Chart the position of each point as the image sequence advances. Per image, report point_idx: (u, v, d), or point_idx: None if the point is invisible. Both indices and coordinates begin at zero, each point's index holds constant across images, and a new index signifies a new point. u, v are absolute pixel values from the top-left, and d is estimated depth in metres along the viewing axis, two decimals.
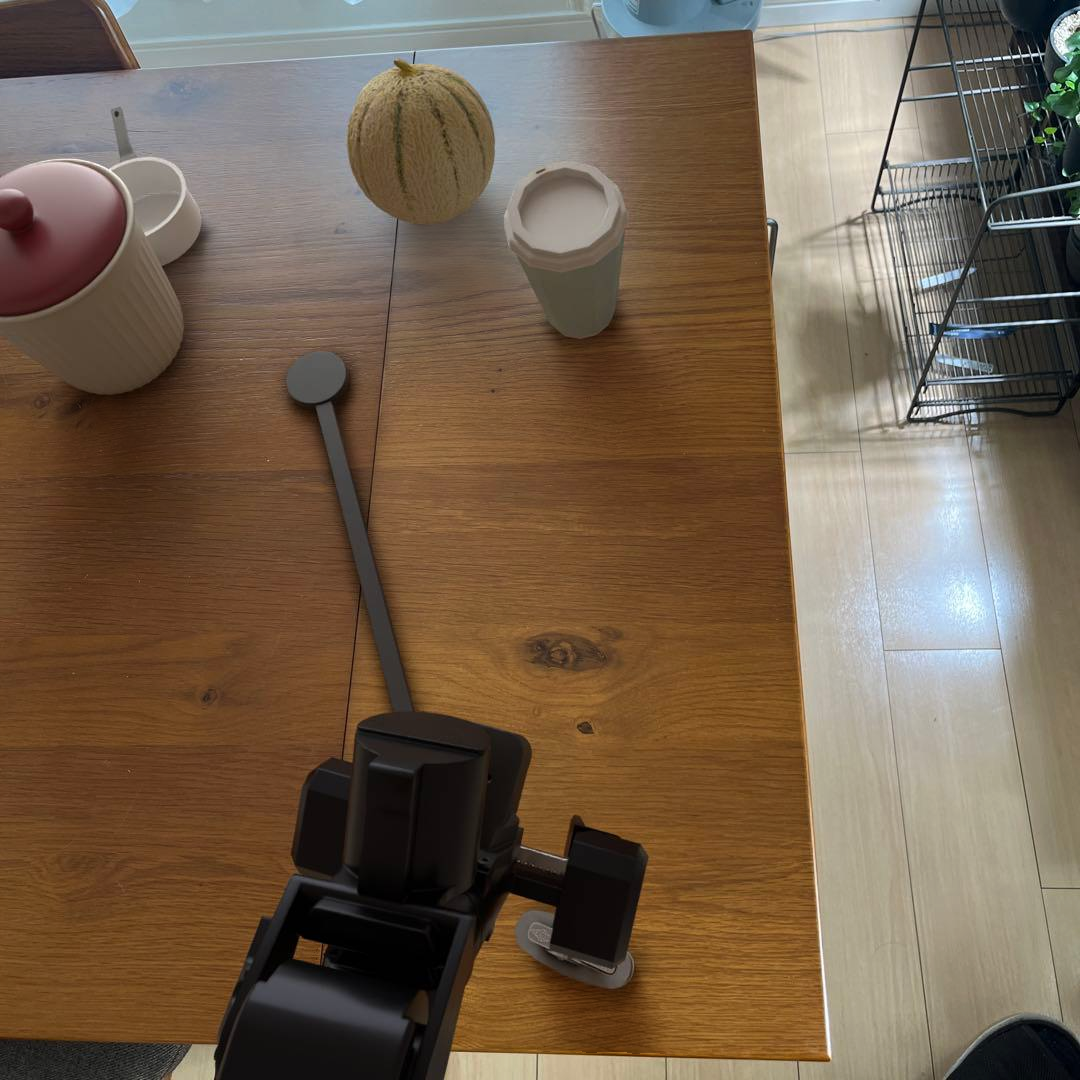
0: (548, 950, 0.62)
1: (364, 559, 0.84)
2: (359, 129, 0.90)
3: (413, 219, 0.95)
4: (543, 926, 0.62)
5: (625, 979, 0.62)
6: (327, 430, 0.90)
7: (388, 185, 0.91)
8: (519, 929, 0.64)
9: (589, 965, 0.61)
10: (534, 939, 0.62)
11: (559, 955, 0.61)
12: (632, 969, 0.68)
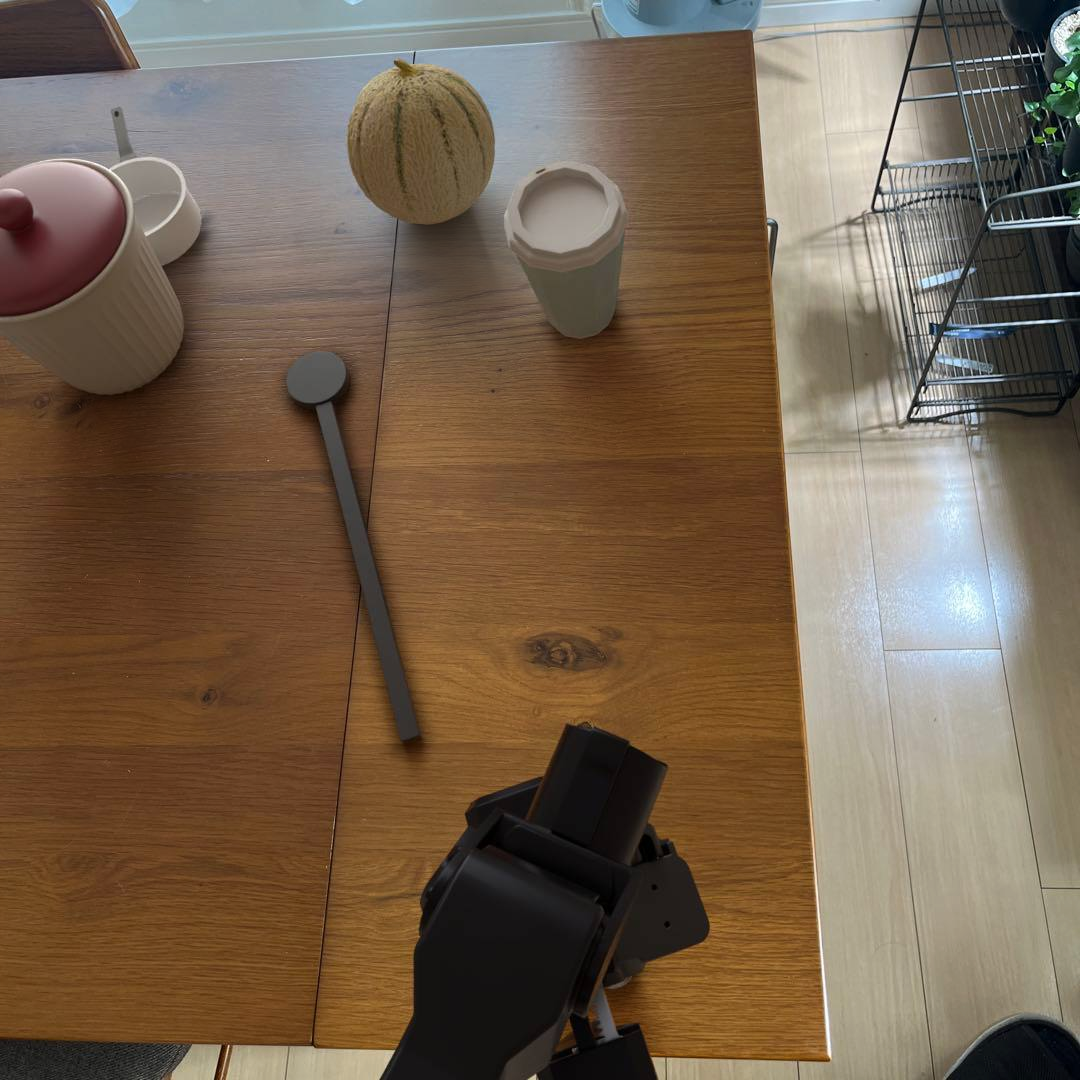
0: None
1: (364, 559, 0.84)
2: (359, 129, 0.90)
3: (413, 219, 0.95)
4: None
5: None
6: (327, 430, 0.90)
7: (388, 185, 0.91)
8: None
9: None
10: None
11: None
12: None
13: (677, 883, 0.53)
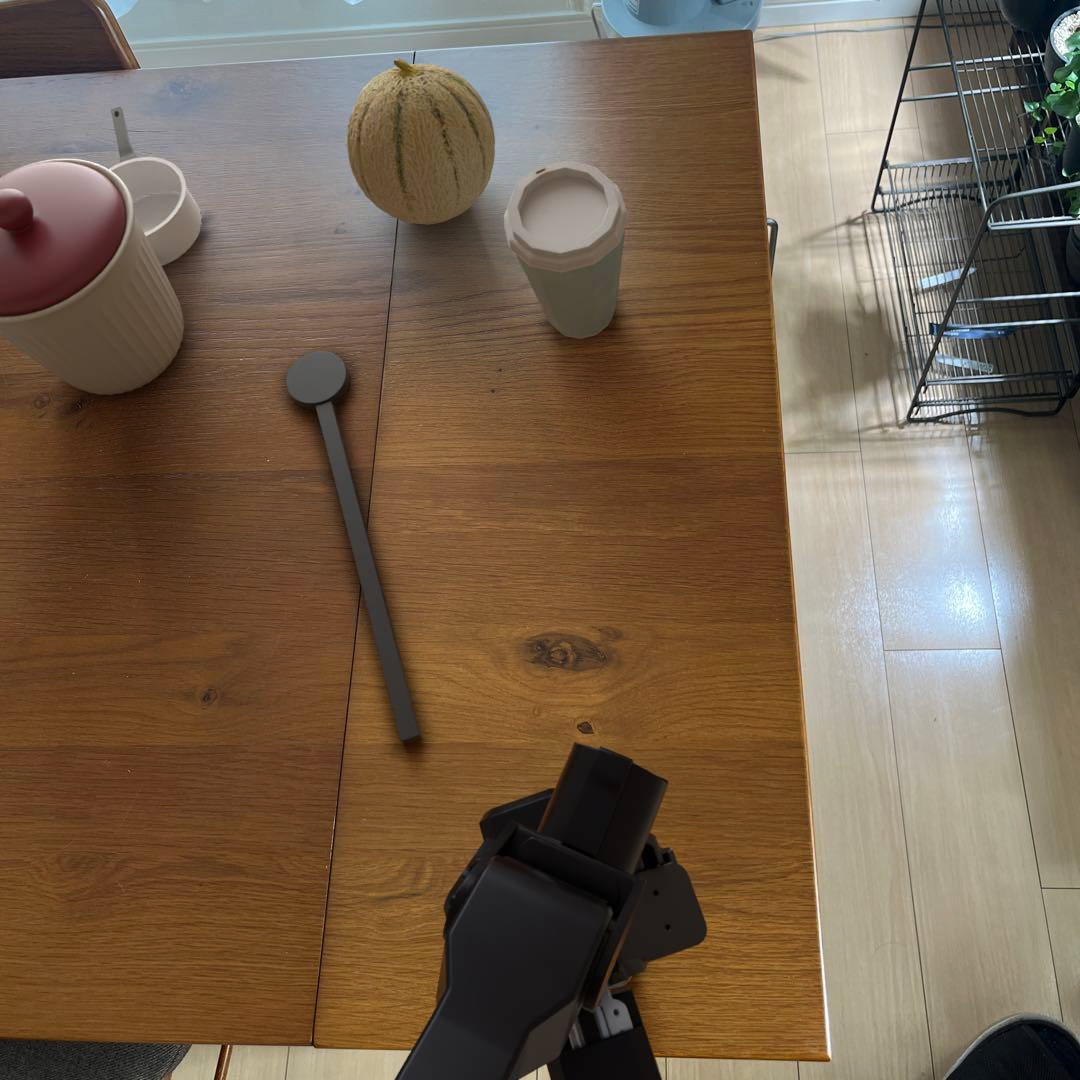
0: None
1: (364, 559, 0.84)
2: (359, 129, 0.90)
3: (413, 219, 0.95)
4: None
5: None
6: (327, 430, 0.90)
7: (388, 185, 0.91)
8: None
9: None
10: None
11: None
12: None
13: (677, 889, 0.57)
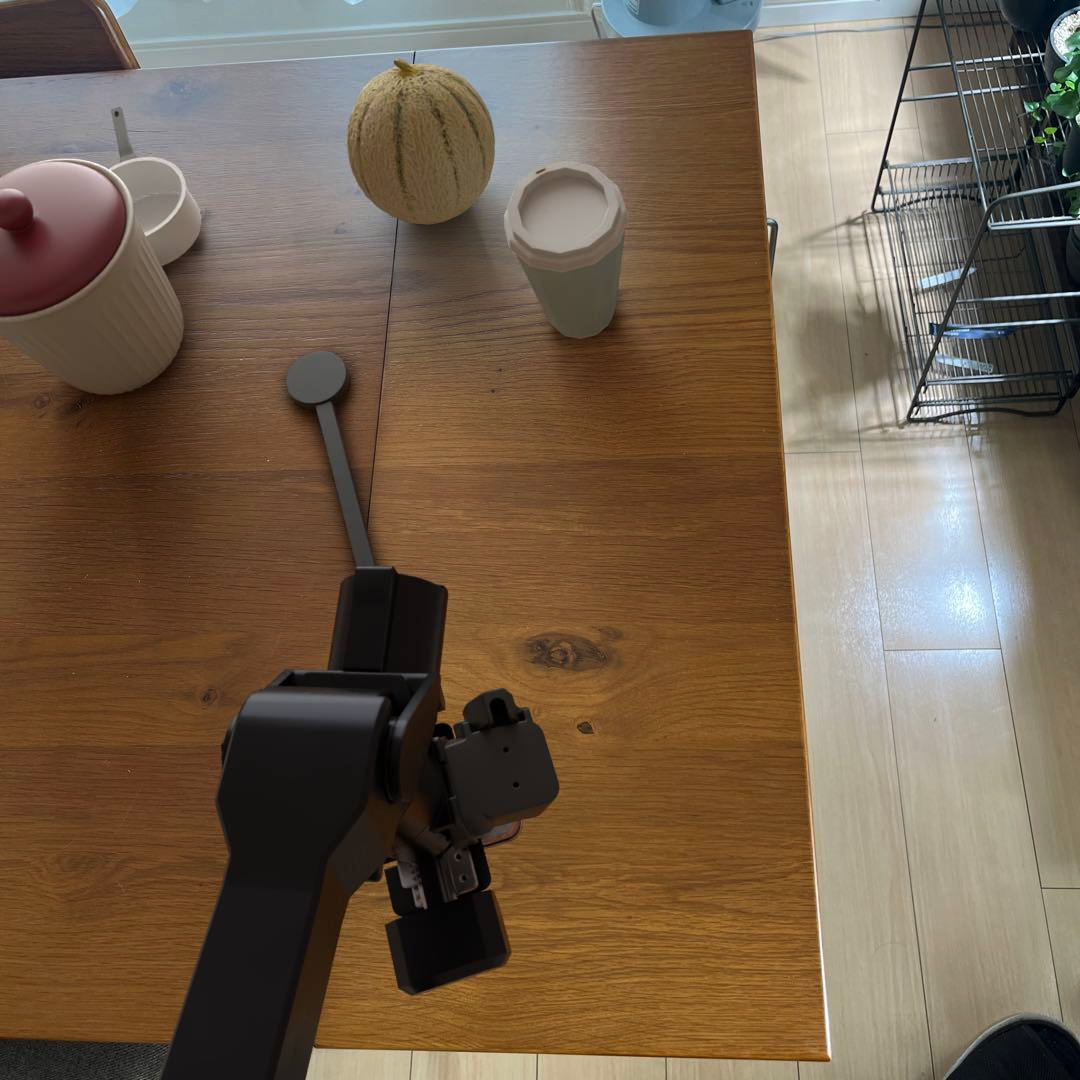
0: None
1: (364, 559, 0.84)
2: (359, 129, 0.90)
3: (413, 219, 0.95)
4: None
5: None
6: (327, 430, 0.90)
7: (388, 185, 0.91)
8: None
9: None
10: None
11: None
12: None
13: (530, 747, 0.54)
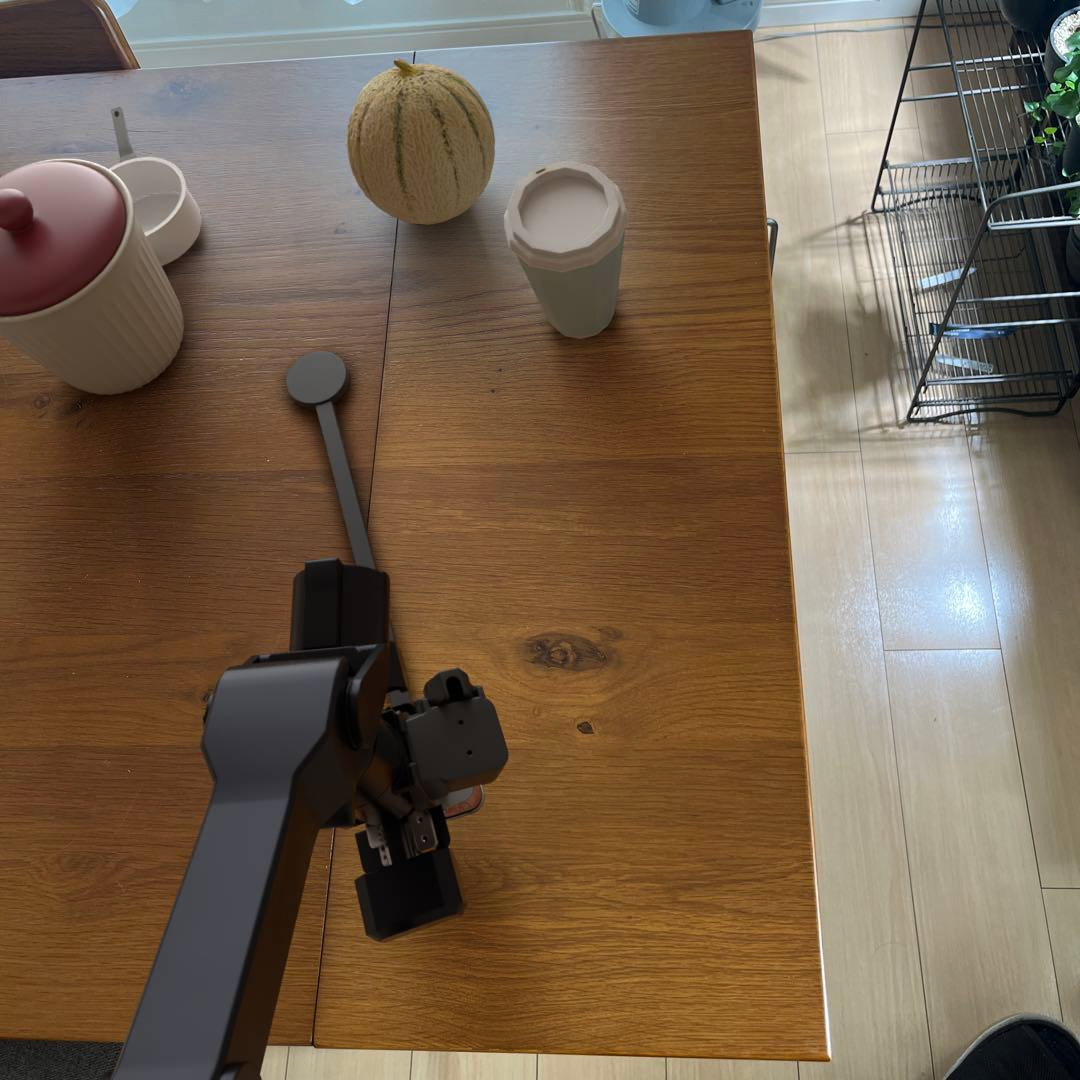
0: None
1: (364, 559, 0.84)
2: (359, 129, 0.90)
3: (413, 219, 0.95)
4: None
5: None
6: (327, 430, 0.90)
7: (388, 185, 0.91)
8: None
9: None
10: None
11: None
12: (481, 789, 0.73)
13: (482, 720, 0.60)
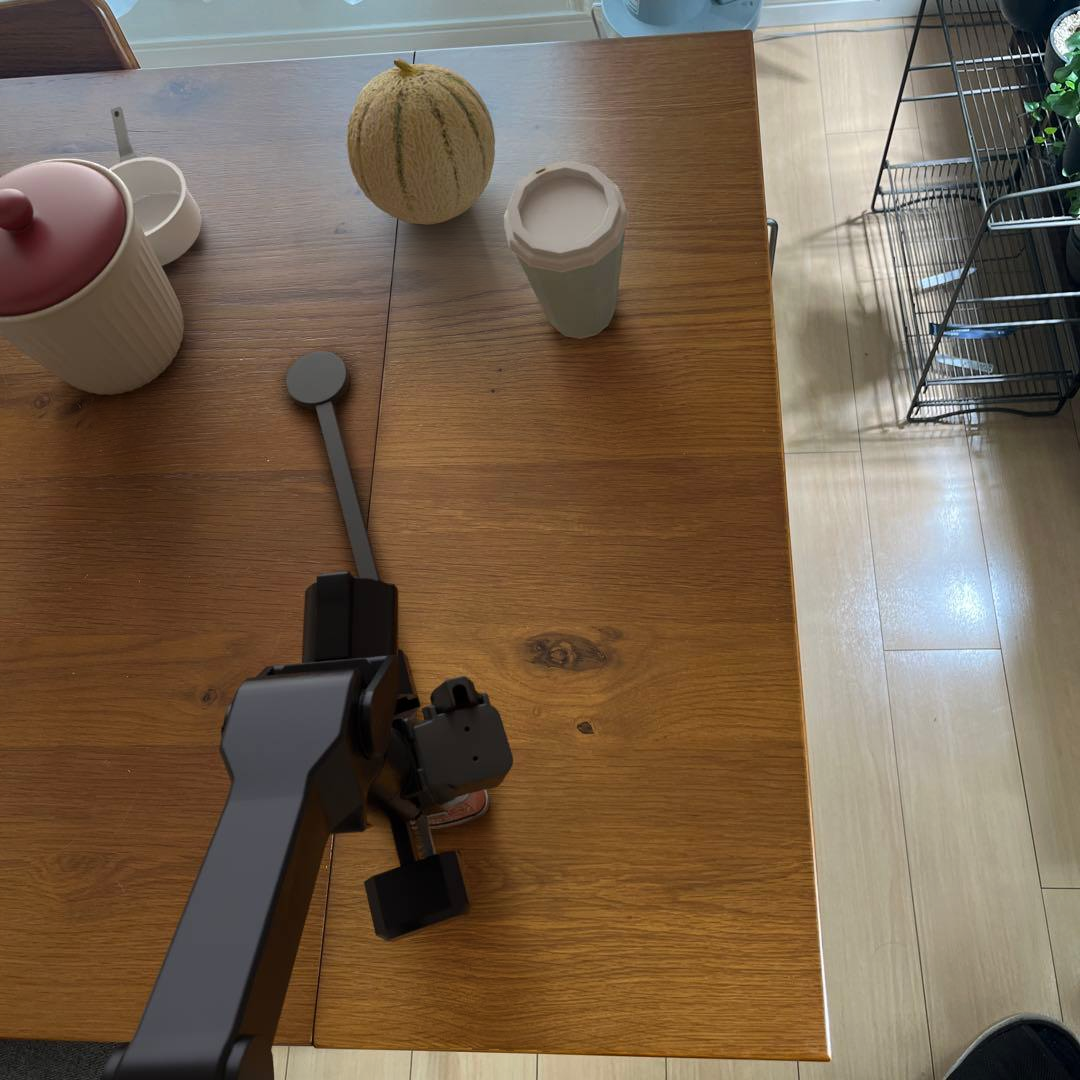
0: None
1: (364, 559, 0.84)
2: (359, 129, 0.90)
3: (413, 219, 0.95)
4: None
5: None
6: (327, 430, 0.90)
7: (388, 185, 0.91)
8: None
9: None
10: None
11: None
12: (485, 793, 0.75)
13: (487, 726, 0.62)
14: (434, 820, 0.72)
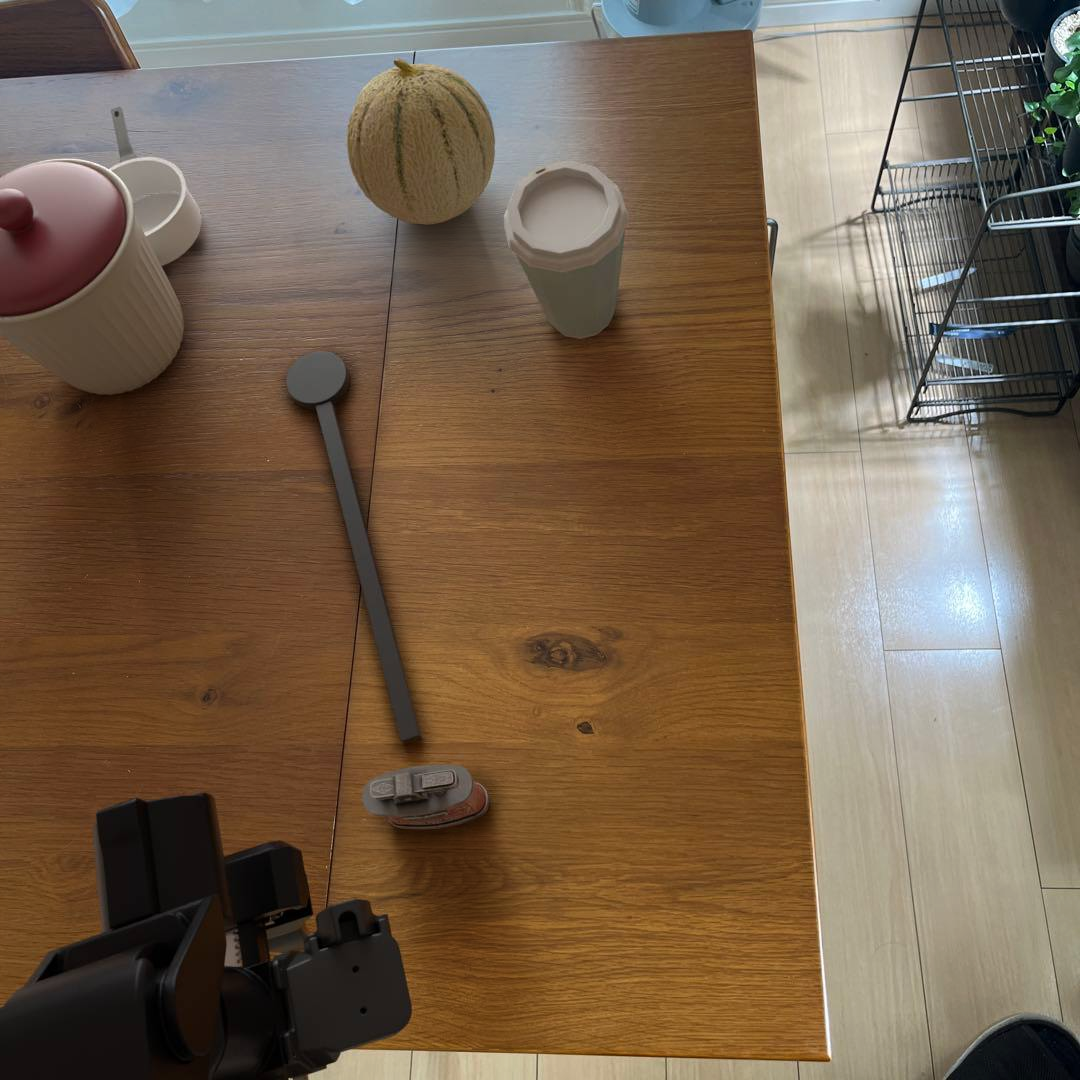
0: (394, 796, 0.67)
1: (364, 559, 0.84)
2: (359, 129, 0.90)
3: (413, 219, 0.95)
4: (380, 781, 0.67)
5: (470, 787, 0.68)
6: (327, 430, 0.90)
7: (388, 185, 0.91)
8: (366, 801, 0.69)
9: (432, 787, 0.67)
10: (378, 795, 0.67)
11: (403, 793, 0.66)
12: (485, 793, 0.75)
13: (382, 965, 0.50)
14: (434, 820, 0.72)
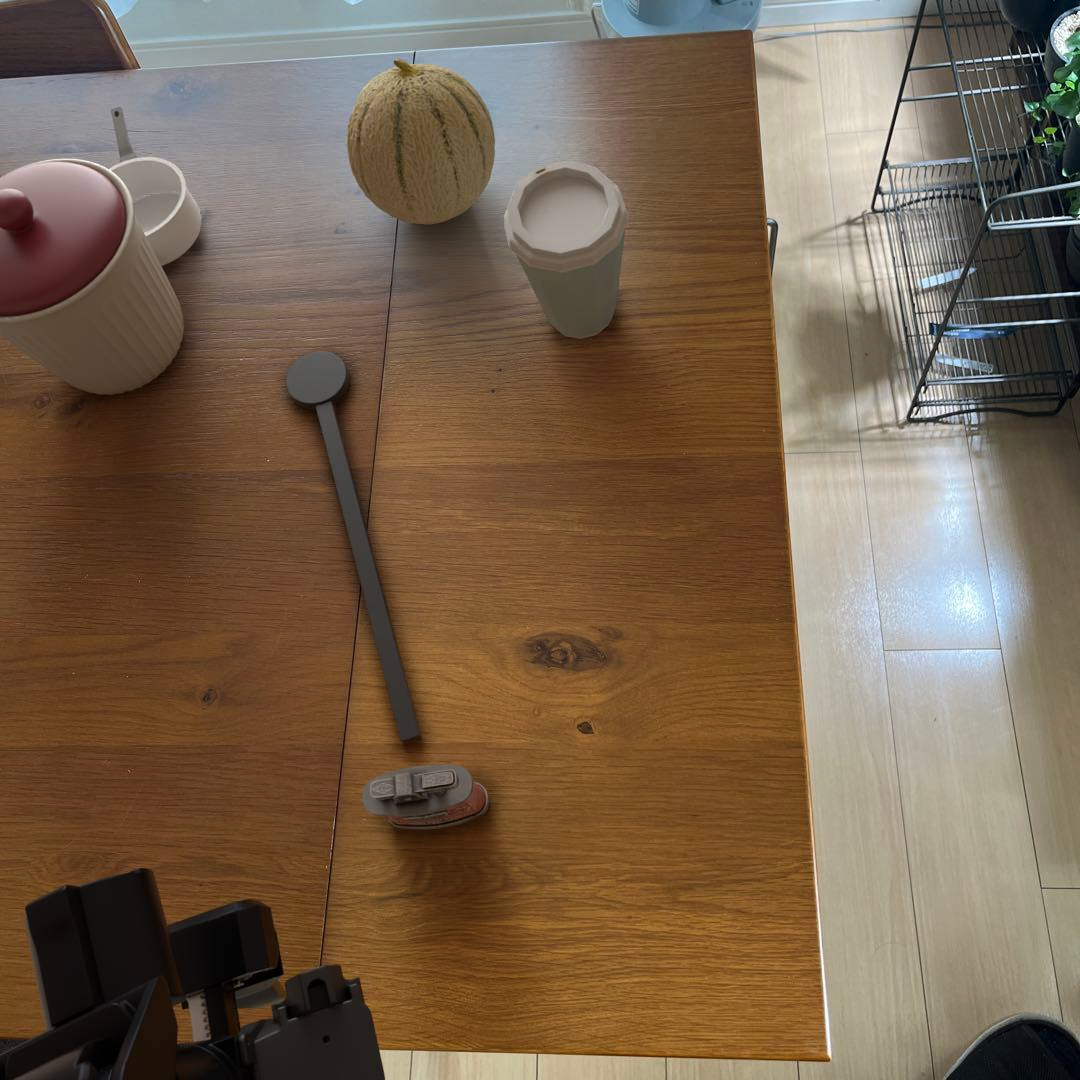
0: (394, 796, 0.67)
1: (364, 559, 0.84)
2: (359, 129, 0.90)
3: (413, 219, 0.95)
4: (380, 781, 0.67)
5: (470, 787, 0.68)
6: (327, 430, 0.90)
7: (388, 185, 0.91)
8: (366, 801, 0.69)
9: (432, 787, 0.67)
10: (378, 795, 0.67)
11: (403, 793, 0.66)
12: (485, 793, 0.75)
13: (354, 1034, 0.48)
14: (434, 820, 0.72)
